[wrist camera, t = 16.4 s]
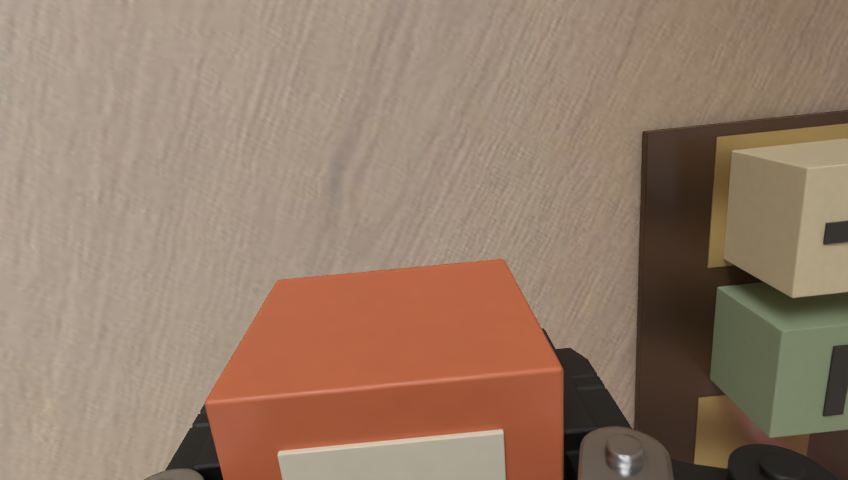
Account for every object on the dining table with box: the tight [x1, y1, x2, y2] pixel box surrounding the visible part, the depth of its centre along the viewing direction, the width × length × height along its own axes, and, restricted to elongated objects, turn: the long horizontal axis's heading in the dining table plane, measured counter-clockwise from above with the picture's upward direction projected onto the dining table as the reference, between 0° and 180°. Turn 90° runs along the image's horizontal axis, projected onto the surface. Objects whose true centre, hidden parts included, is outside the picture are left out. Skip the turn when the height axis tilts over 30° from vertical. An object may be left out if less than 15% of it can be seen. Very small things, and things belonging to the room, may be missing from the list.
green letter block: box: [710, 282, 848, 438], centre depth 23 cm, size 5×5×5 cm
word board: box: [634, 110, 848, 480], centre depth 26 cm, size 20×12×1 cm, turn 6°
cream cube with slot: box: [724, 138, 848, 298], centre depth 21 cm, size 5×5×5 cm
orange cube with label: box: [205, 259, 564, 480], centre depth 10 cm, size 5×5×5 cm
